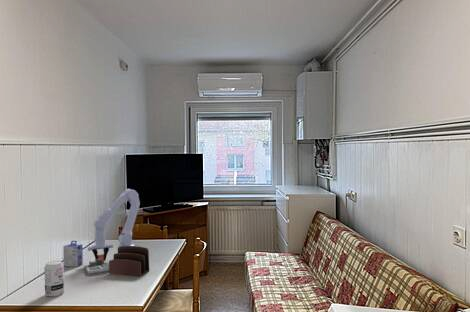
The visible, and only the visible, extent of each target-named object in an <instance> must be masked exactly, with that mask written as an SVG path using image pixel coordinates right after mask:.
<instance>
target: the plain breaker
mask: <svg viewBox="0 0 470 312" xmlns="http://www.w3.org/2000/svg"><path fill="white" fill-rule="evenodd" d="M94 261H95V262H96V265H102V259H101V258H98V259H94Z"/></svg>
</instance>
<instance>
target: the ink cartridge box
mask: <svg viewBox="0 0 470 312" xmlns="http://www.w3.org/2000/svg"><path fill="white" fill-rule="evenodd" d="M62 248H63V249H62V251H63V262H62V263H63V265H64V267H76V268H77V267H80V266H83V263H84V262H83V261H84V260H83V259H84V258H83V255H84V254H83V244H78V241H77V240H71V241H70V243H68V244H65V245H63V247H62Z"/></svg>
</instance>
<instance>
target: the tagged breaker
mask: <svg viewBox="0 0 470 312" xmlns="http://www.w3.org/2000/svg"><path fill="white" fill-rule="evenodd" d="M88 263H89V264H88V265H89V267H95V266H96V262H95V260H91V261H89V262H88Z"/></svg>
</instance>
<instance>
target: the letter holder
mask: <svg viewBox="0 0 470 312" xmlns="http://www.w3.org/2000/svg"><path fill="white" fill-rule="evenodd" d="M108 261H109V262H108V264H109V273H108V274H109V275H116V276H117V275H118V276H130V277H140V276H141V277H142V276H144V275H146V274H147V273H149V272H150V253H149V248H148V247H143V246H136V245H135V246H120V247H119V246H118V247H117V253H114V254H113V259H110V260H108Z"/></svg>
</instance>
